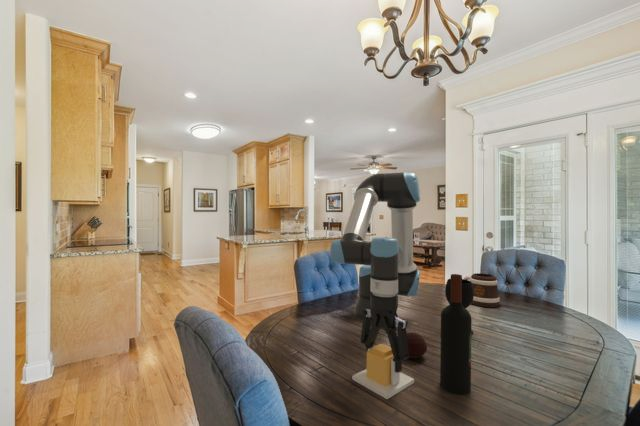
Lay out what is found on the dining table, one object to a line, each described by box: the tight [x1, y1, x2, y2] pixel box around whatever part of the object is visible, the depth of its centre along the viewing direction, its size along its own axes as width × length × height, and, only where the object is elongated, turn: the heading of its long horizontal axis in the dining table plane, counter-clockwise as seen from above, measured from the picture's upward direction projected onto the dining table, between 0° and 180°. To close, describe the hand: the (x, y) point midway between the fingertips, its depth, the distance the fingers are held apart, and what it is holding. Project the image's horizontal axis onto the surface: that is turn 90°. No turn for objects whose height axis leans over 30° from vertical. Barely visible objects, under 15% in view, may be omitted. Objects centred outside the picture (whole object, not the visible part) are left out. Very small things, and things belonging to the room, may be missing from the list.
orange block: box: [365, 343, 394, 387], centre depth 84 cm, size 6×6×8 cm
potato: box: [407, 332, 428, 359], centre depth 99 cm, size 8×9×8 cm
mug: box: [463, 273, 501, 309], centre depth 162 cm, size 20×15×15 cm
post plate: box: [351, 368, 415, 400], centre depth 85 cm, size 12×12×6 cm
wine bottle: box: [439, 273, 472, 396], centre depth 82 cm, size 8×8×30 cm
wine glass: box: [444, 278, 474, 336], centre depth 122 cm, size 10×10×20 cm
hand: (383, 376), depth 84 cm, fingers open, 7 cm apart
